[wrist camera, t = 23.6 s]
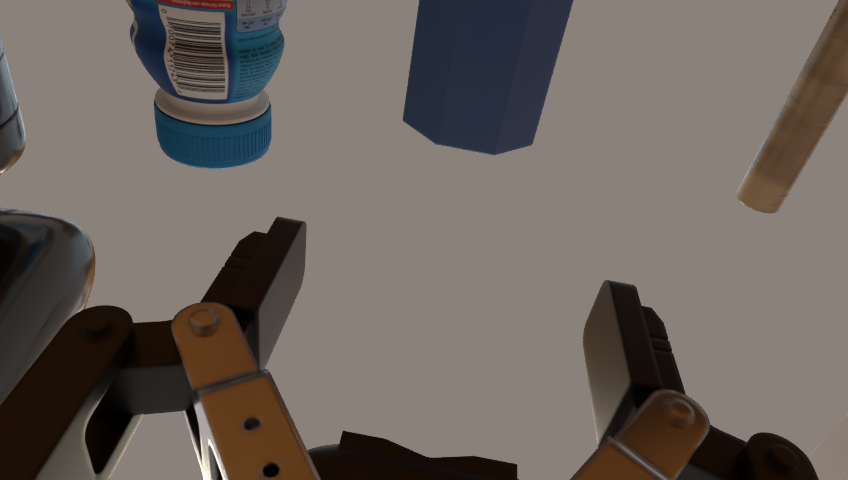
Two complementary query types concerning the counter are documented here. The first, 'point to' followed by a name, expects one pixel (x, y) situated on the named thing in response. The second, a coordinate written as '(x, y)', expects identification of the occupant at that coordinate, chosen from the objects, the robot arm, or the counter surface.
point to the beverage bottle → (210, 75)
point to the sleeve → (483, 71)
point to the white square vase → (832, 453)
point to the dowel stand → (801, 119)
